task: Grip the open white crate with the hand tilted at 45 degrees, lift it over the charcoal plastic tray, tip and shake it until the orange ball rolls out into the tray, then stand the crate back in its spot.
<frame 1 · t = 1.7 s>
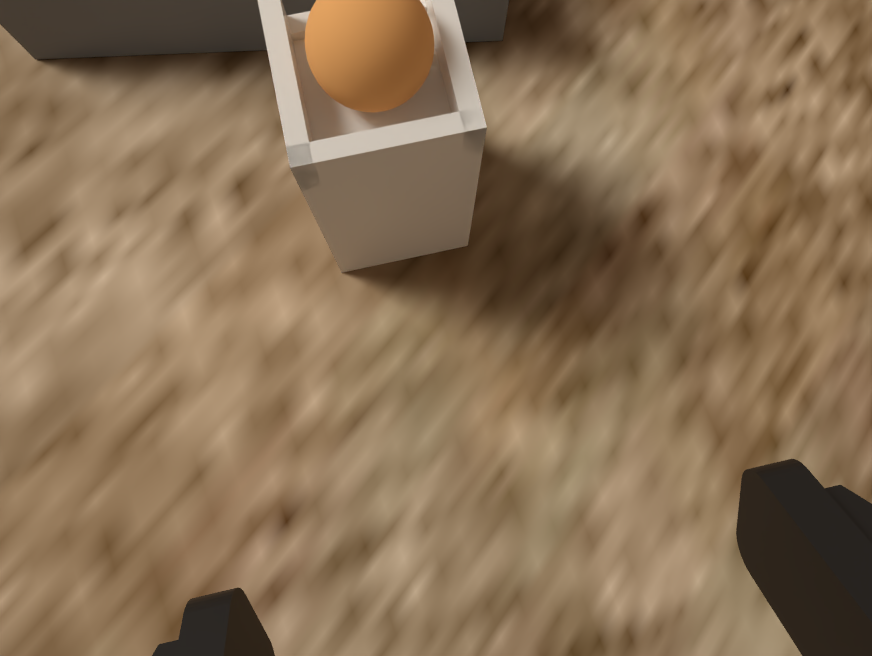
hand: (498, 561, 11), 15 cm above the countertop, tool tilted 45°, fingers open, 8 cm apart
ball: (370, 44, 18), point 10 cm above the countertop, tilted 6°, touching open white crate
open white crate: (391, 199, 28), on the countertop, touching ball
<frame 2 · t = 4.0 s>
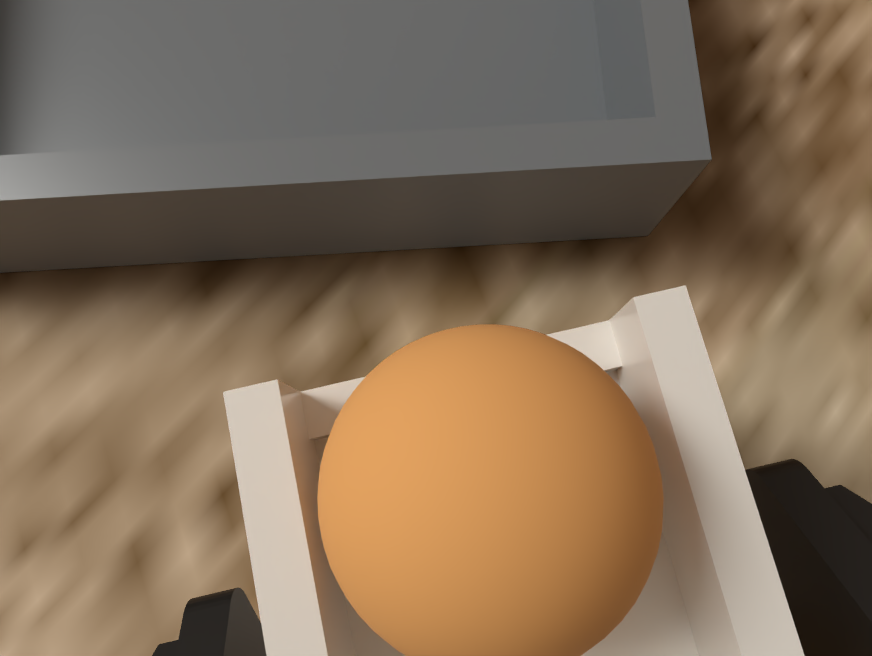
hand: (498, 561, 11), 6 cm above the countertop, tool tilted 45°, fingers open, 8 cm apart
ball: (487, 491, 7), point 10 cm above the countertop, tilted 29°, touching open white crate
open white crate: (477, 518, 17), on the countertop, touching ball
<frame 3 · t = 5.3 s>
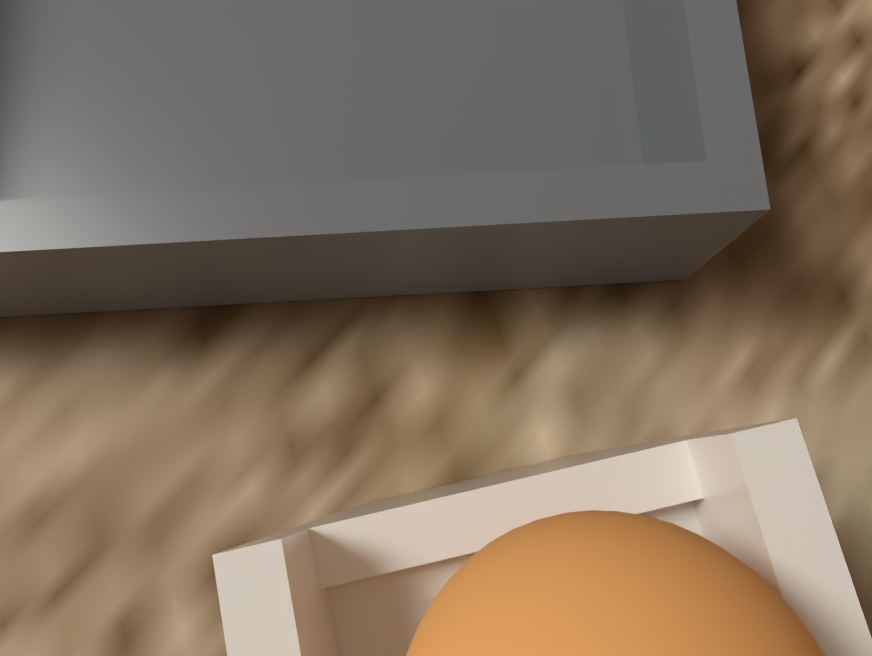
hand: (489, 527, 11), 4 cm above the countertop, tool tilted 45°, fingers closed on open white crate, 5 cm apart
open white crate: (500, 595, 15), on the countertop, touching ball, gripper
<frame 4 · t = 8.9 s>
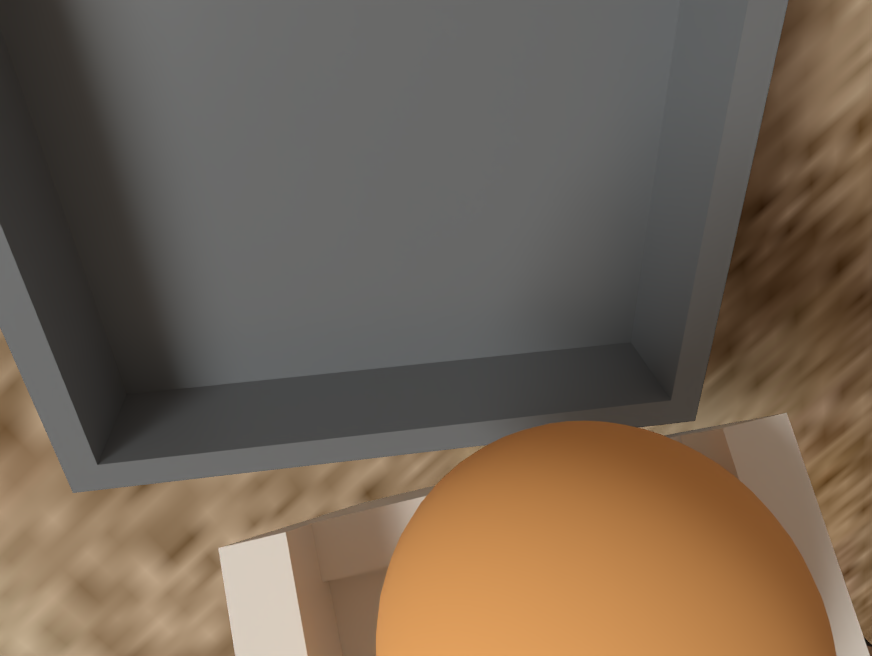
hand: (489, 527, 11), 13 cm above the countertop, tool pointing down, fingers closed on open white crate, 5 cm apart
tray: (364, 102, 20), on the countertop
ball: (590, 636, 5), point 18 cm above the countertop, tilted 86°, touching open white crate
open white crate: (498, 592, 15), point 11 cm above the countertop, tilted 45°, touching ball, gripper
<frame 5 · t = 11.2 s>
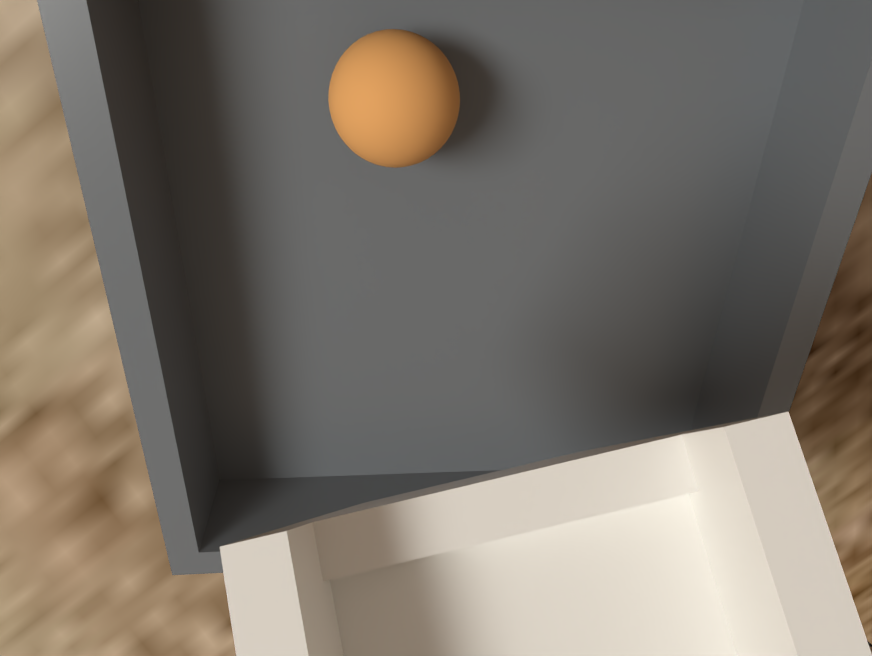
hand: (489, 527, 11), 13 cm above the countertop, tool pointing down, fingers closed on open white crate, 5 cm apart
tray: (465, 244, 23), on the countertop
ball: (394, 100, 18), point 3 cm above the countertop, tilted 85°, touching tray
open white crate: (499, 592, 15), point 11 cm above the countertop, tilted 42°, touching gripper
when the fingers open (6 cm above the countertop, at t = 15.0 s): open white crate drops 1 cm, on the countertop.
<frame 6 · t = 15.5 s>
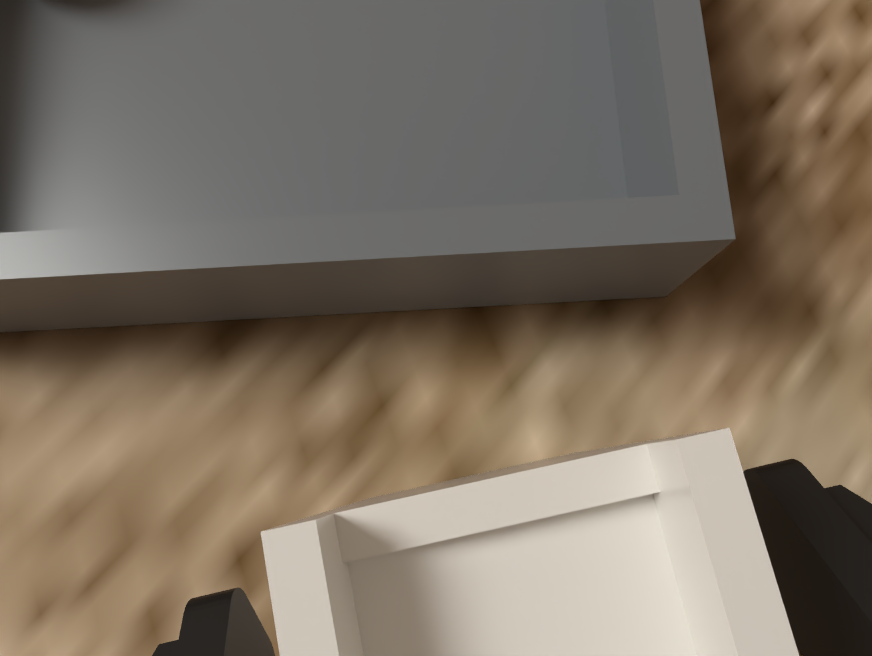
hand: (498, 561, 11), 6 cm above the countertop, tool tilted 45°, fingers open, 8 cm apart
open white crate: (494, 581, 17), on the countertop
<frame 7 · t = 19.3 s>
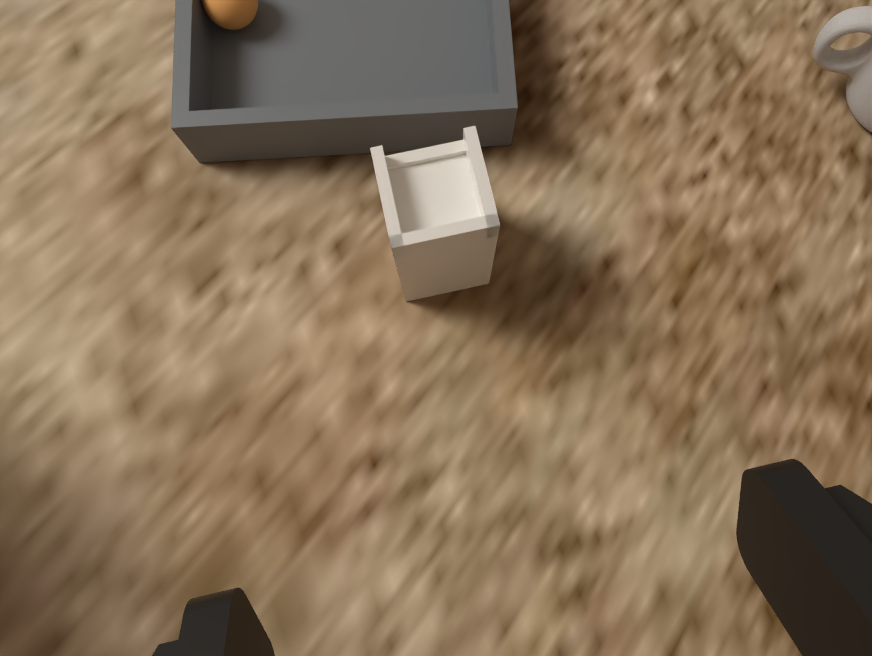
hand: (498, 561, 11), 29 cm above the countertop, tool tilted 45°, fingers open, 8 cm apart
cup: (865, 98, 44), on the countertop
tray: (351, 16, 46), on the countertop
ball: (230, 0, 43), point 3 cm above the countertop, tilted 27°, touching tray
open white crate: (438, 253, 42), on the countertop
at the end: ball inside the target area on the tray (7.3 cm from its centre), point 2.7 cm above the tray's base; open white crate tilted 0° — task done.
